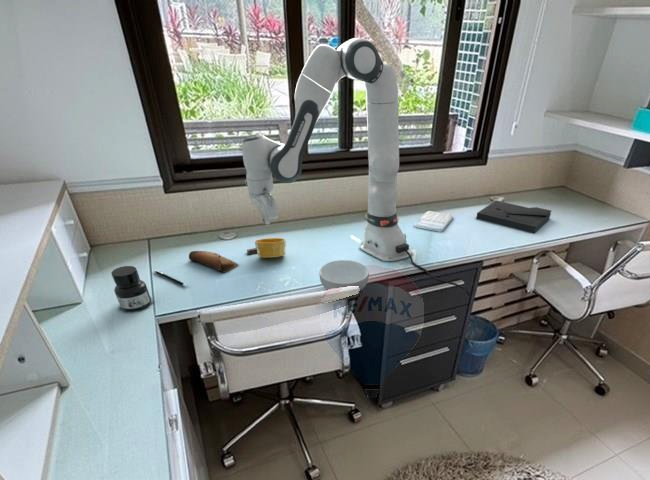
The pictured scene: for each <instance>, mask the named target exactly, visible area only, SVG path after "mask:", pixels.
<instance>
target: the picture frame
mask: <svg viewBox="0 0 650 480" xmlns="http://www.w3.org/2000/svg"><path fill="white" fill-rule="evenodd" d="M551 215H552V210H551V209H547V208H542V207H537V206H535V207H534V206H533V207H527V206H523V205H518V204H513V203H509V202H504V201H500V200H494V201H493V202H492V203H490V204H488V205H487V206H485V207H484V208H482V209H481V210H479V211H477V213H476V218H475V219H476V220H479V221H484V222H487V223H491V224H495V225H498V226H504V227H507V228H511V229H514V230H520V231H523V232H527V233H531V234H535V233H536V232H537V231H538V230H539V229H541V227H542V226H543V225H544V224H545V223H547V222H548V220H550V219H551Z"/></svg>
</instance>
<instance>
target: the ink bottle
mask: <svg viewBox="0 0 650 480" xmlns="http://www.w3.org/2000/svg"><path fill="white" fill-rule="evenodd" d="M111 276H112V279H113V281H114V283H115V287H114V294H115V296H116V299H117V301H118V304H119V307H120V308H121V310H123V311H126V312H135V311H140V310H143V309H145V308H147V307H149V306H150V305H151V303H152V298H151V294H150V292H149V289H148V286H147V283H146V282H145V281H143V280H142V279H141V278H140V275H139V272H138V269H137V267H135V266H133V265H124V266H123V265H122V266H119V267H117V268H114V269H113V270H112V271H111Z"/></svg>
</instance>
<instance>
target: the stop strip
mask: <svg viewBox="0 0 650 480" xmlns="http://www.w3.org/2000/svg"><path fill="white" fill-rule="evenodd" d="M246 253H247V255H253V254H257V249H256V247H254V248H249V249H246Z"/></svg>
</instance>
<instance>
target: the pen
mask: <svg viewBox="0 0 650 480" xmlns="http://www.w3.org/2000/svg"><path fill="white" fill-rule="evenodd" d="M153 272H154V273H155V274H158V275H160V276H162V277H163V278H166V279H168V280H170V281H172V282H174V283H176V284H178V285H181V286H182V287H188V285H187V284H186V283H184V282H182V281H180V280H178V279H176V278H174V277H172V276H169V275H167V274H165V273H164V272H162V271H159V270H157V269H153Z"/></svg>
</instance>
